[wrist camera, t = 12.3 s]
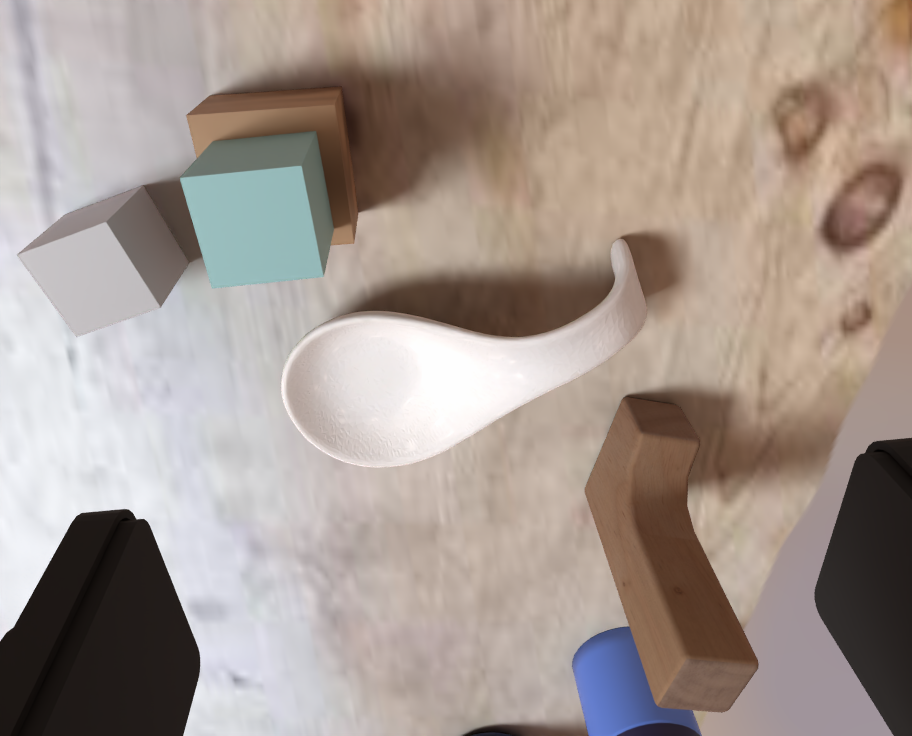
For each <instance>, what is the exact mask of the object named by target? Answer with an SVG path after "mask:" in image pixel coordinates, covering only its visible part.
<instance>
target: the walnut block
mask: <svg viewBox="0 0 912 736" xmlns="http://www.w3.org/2000/svg"><path fill="white" fill-rule="evenodd" d="M186 116H187V120H188V124H189V128H190V132H191V136H192V140H193V145H194V149H195V153H196V157H197V158H198V157H199V156H200V155H201V154H202V153H203V151H204V150H205V149H206V148H207V147H208V146H209V145H210V144H211V143H212V141H221V140H231V139H241V138H250V137H260V136H270V135H280V134H290V133H300V132H310V131H316V133H317V139H318V144H319V149H320V155H321V160H322V166H323V171H324V177H325V182H326V188H327V193H328V199H329V204H330V210H331V215H332V221H333V226H334V232H333V236H332V241H331V245H341V244H354V240H355V233H356V226H357V219H358V206H357V199H356V191H355V183H354V176H353V168H352V161H351V153H350V146H349V138H348V131H347V123H346V116H345V108H344V100H343V93H342V86H340V87H325V88H311V89H297V90H283V91H269V92H254V93H240V94H226V95H212V96H209V97H207V98H206V99H205V100H204V101H203V102H201V103H200V104H199V105H198V106H197V107H196V108H194V109H193V110H192V111H191V112H190V113H188V114H187V115H186Z"/></svg>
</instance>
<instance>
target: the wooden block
mask: <svg viewBox="0 0 912 736" xmlns="http://www.w3.org/2000/svg"><path fill="white" fill-rule="evenodd" d="M699 446H700V440H699V438H698V436H697V435H696V433H695V431H694V430H693V428H692V426H691V425H690V423H689V421H688V420H687V418H686V416H685V414H684V413H683V411H682V409H681V408H680V407H679V406H677V405H674V404H668V403H661V402H655V401H649V400H643V399H636V398H630V397H625V398H623V399H622V401H621V403H620V406H619V408H618V410H617V413H616V415H615V418H614V420H613V422H612V425H611V427H610V430H609V432H608V434H607V437H606V439H605V441H604V444H603V446H602V449H601V451H600V453H599V456H598V458H597V461H596V463H595V465H594V468H593V470H592V472H591V475H590V477H589V480H588V482H587V484H586V487H585V494H586V497H587V500H588V503H589V506H590V509H591V512H592V515H593V518H594V521H595V524H596V527H597V530H598V533H599V536H600V539H601V542H602V545H603V548H604V551H605V554H606V557H607V560H608V563H609V566H610V569H611V572H612V575H613V578H614V581H615V584H616V587H617V590H618V593H619V596H620V599H621V602H622V605H623V608H624V611H625V614H626V617H627V620H628V623H629V626H630V629H631V632H632V635H633V638H634V641H635V644H636V647H637V650H638V653H639V656H640V659H641V662H642V665H643V668H644V671H645V674H646V677H647V680H648V683H649V686H650V689H651V692H652V695H653V698H654V701H655V703H656V705H657V706H658V707H661V708H670V709H683V710H696V711H709V712H725V711H728V710H729V709H730V708H731V706H732V705H733V703H734V702H735V700H736V699H737V697H738V696H739V695H740V693H741V692H742V690H743V689H744V688H745V686H746V685H747V683H748V682H749V680H750V679H751V678H752V676H753V675H754V673H755V672H756V671H757V669H758V660H757V658H756V656H755V654H754V652H753V650H752V648H751V646H750V644H749V642H748V639H747V638H746V635H745V633H744V631H743V629H742V627H741V625H740V623H739V621H738V619H737V617H736V615H735V613H734V611H733V609H732V607H731V605H730V603H729V601H728V599H727V597H726V595H725V593H724V591H723V589H722V587H721V585H720V583H719V581H718V579H717V577H716V575H715V573H714V571H713V569H712V567H711V565H710V563H709V561H708V559H707V557H706V554H705V552H704V550H703V548H702V546H701V544H700V542H699V540H698V538H697V536H696V534H695V532H694V529H693V526H692V522H691V518H690V515H689V511H688V507H687V495H688V476H689V473H690V470H691V468H692V465H693V462H694V460H695V457H696V454H697V452H698V449H699Z"/></svg>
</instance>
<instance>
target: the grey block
mask: <svg viewBox="0 0 912 736" xmlns="http://www.w3.org/2000/svg"><path fill="white" fill-rule="evenodd" d="M17 256H18V258H19V259H20V260H21V262H22V263H23V265H24V266H25V267H26V269H27V270H28V271H29V273H30V274H31V275H32V277H33V278H34V280H35V281H36V282H37V284H38V285H39V286H40V288H41V289H42V291H43V292H44V293H45V295H46V296H47V297H48V299H49V300H50V301H51V303H52V304H53V306H54V307H55V308H56V310H57V311H58V312H59V314H60V315H61V317H62V318H63V319H64V321H65V322H66V323H67V325H68V326H69V327H70V329H71V330H72V332H73V333H74V334H75V336H76V337H78V336H81V335H84V334H87V333H90V332H93V331H95V330H98V329H101V328H104V327H107V326H110V325H113V324H115V323H118V322H121V321H124V320H127V319H130V318H132V317H135V316H138V315H141V314H144V313H147V312H150V311H152V310H155V309H158V308H161V306H162V305H163V303H164V302H165V300H166V298H167V297H168V295H169V294H170V292H171V291H172V289H173V287H174V286H175V284H176V283H177V281H178V280H179V278H180V276H181V275H182V273H183V272H184V270H185V269H186V267H187V266H188V264H189V262H188V260H187V258H186V256H185V255H184V253H183V251H182V250H181V248H180V246H179V245H178V243H177V241H176V240H175V238H174V236H173V234H172V233H171V231H170V229H169V228H168V226H167V224H166V223H165V221H164V219H163V218H162V216H161V214H160V212H159V211H158V209H157V207H156V206H155V204H154V202H153V201H152V199H151V197H150V196H149V194H148V192H147V190H146V189H145V187H144V185H143V186H140V187H137V188H135V189H132V190H129V191H127V192H124V193H121V194H119V195H116V196H113V197H111V198H108V199H105V200H103V201H100V202H97V203H95V204H92V205H89V206H87V207H84V208H81V209H79V210H76V211H73V212H70V213H68V214H65V215H64V216H63V217H61V218H60V219H59V220H58V221H57V222H55V223H54V224H53V225H52V226H51V227H49V228H48V229H47V230H46V231H45V232H43V233H42V234H41V235H40V236H39V237H37V238H36V239H35V240H34V241H33V242H32V243H30V244H29V245H28V246H27V247H26V248H24V249H23V250H22V251H21V252H20V253H18V254H17Z"/></svg>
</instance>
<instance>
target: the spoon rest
mask: <svg viewBox="0 0 912 736" xmlns="http://www.w3.org/2000/svg"><path fill="white" fill-rule="evenodd" d="M611 263H612V268H613V271H614V275H615V283H614V285H613V288H612V290H611V291H610V293H609V294H608V296H607V297H606V298H605V299H604V300H603V301H602V302H601V303H600V304H599V305H598V306H596V307H595V308H594V309H592V310H591V311H589V312H588V313H586V314H584V315H583V316H581V317H579V318H578V319H576V320H574V321H572V322H570V323H568V324H566V325H564V326H562V327H560V328H557V329H554V330H551V331H548V332H545V333H541V334H537V335H531V336H524V337H503V336H494V335H489V334H483V333H479V332H475V331H471V330H467V329H464V328H460V327H456V326H453V325H449V324H446V323H442V322H438V321H435V320H431V319H427V318H424V317H419V316H414V315H410V314H404V313H398V312H390V311H362V312H355V313H350V314H346V315H342V316H339V317H336V318H334V319H331V320H329V321H327V322H325V323H323V324H321V325H319V326H318V327H316V328H314V329H313V330H311V331H310V332H309V333H307V334H306V335H305V336H304V337H303V338H302V339H301V340H300V341H299V342H298V343H297V344H296V346H295V347H294V348H293V350H292V351H291V353H290V354H289V356H288V358H287V360H286V363H285V365H284V368H283V373H282V379H281V392H282V398H283V402H284V405H285V408H286V410H287V412H288V414H289V416H290V418H291V419H292V421H293V423H294V424H295V426H296V427H297V428H298V430H299V431H300V432H301V434H302V435H303V436H304V437H305V438H306V439H307V440H308V441H309V442H310V443H312V444H313V445H314V446H315V447H317V448H318V449H320V450H321V451H323V452H324V453H326V454H328V455H329V456H331V457H333V458H335V459H338V460H341V461H343V462H346V463H350V464H354V465H359V466H365V467H395V466H402V465H408V464H412V463H416V462H419V461H422V460H425V459H428V458H430V457H433V456H435V455H438V454H440V453H442V452H444V451H446V450H448V449H450V448H452V447H453V446H455V445H457V444H459V443H460V442H462V441H464V440H465V439H467V438H469V437H470V436H472V435H474V434H475V433H477V432H478V431H480V430H482V429H483V428H485V427H486V426H488V425H490V424H491V423H493V422H495V421H496V420H498V419H500V418H501V417H503V416H504V415H506V414H508V413H510V412H511V411H513V410H515V409H516V408H518V407H520V406H522V405H524V404H526V403H528V402H530V401H531V400H533V399H535V398H537V397H539V396H541V395H543V394H545V393H547V392H549V391H551V390H553V389H555V388H557V387H559V386H561V385H563V384H566V383H568V382H570V381H572V380H574V379H576V378H578V377H580V376H581V375H584V374H585V373H587V372H589V371H591V370H592V369H594V368H596V367H597V366H599V365H600V364H602V363H603V362H605V361H606V360H608V359H609V358H611V357H612V356H613V355H615V354H616V353H617V352H618V351H620V350H621V349H622V348H624V347H625V346H626V345H627V344H628V343H629V342H630V341H631V340H632V339H633V338H634V337H635V336H636V335H637V334H638V332H639V331H640V330H641V328H642V326H643V325H644V323H645V319H646V315H647V306H646V302H645V299H644V295H643V292H642V288H641V285H640V282H639V279H638V276H637V272H636V269H635V265H634V262H633V258H632V255H631V252H630V249H629V247H628V245H627V243H626V242H625V240H623V239H618V240H616V241H615V242H614V243H613V246H612V249H611Z"/></svg>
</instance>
